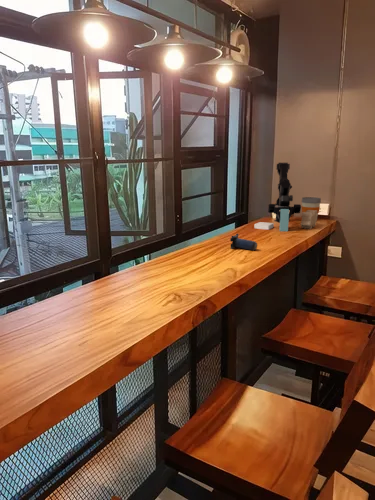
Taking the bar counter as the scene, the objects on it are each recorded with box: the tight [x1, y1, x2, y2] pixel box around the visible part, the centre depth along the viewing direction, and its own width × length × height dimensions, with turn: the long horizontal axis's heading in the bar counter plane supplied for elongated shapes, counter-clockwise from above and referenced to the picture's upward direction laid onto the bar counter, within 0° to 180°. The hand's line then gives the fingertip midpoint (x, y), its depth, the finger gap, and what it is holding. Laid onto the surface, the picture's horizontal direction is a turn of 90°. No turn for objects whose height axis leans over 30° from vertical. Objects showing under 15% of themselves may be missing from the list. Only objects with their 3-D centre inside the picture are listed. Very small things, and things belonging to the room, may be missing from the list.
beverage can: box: [229, 233, 258, 251], centre depth 188 cm, size 9×8×12 cm
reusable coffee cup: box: [301, 196, 322, 221], centre depth 270 cm, size 13×13×15 cm
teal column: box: [278, 209, 290, 232], centre depth 232 cm, size 5×5×12 cm
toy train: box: [300, 210, 318, 230], centre depth 243 cm, size 6×17×10 cm, turn 150°
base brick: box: [253, 221, 275, 230], centre depth 243 cm, size 9×9×3 cm
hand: (284, 219), depth 231 cm, fingers closed on teal column, 5 cm apart
